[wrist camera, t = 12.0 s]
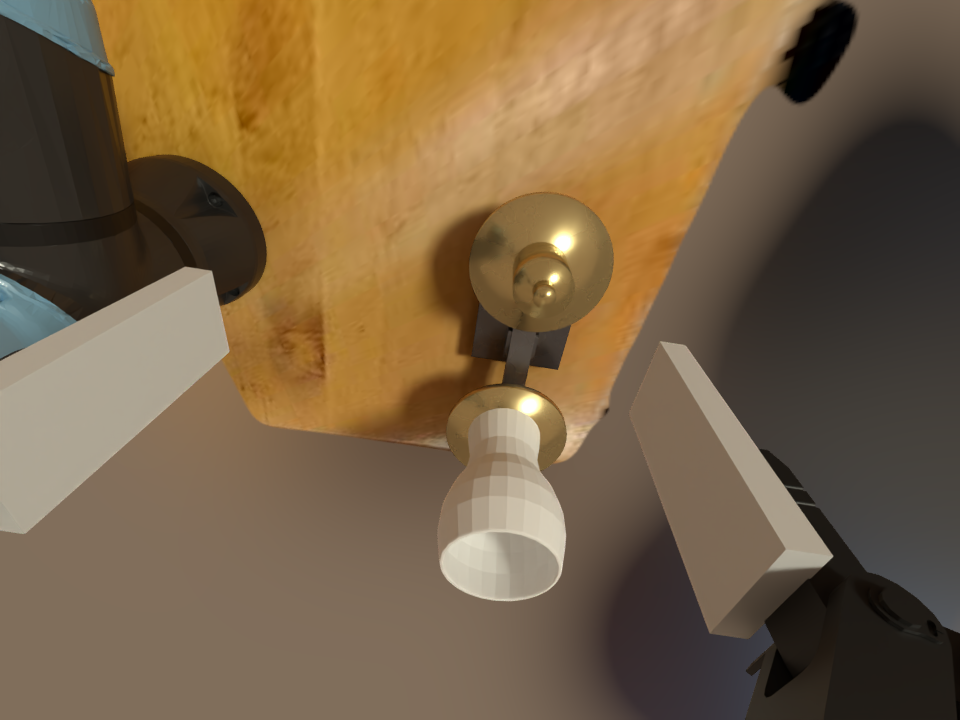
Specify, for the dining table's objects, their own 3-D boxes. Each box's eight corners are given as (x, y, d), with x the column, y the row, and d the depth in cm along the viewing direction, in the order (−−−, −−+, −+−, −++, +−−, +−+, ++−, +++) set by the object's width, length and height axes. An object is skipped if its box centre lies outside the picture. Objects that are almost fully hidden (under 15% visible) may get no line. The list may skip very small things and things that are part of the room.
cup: (466, 474, 48) (449, 607, 36) (444, 402, 43) (415, 529, 30) (558, 465, 47) (575, 603, 34) (547, 390, 41) (562, 519, 28)
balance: (450, 420, 56) (436, 494, 45) (483, 171, 39) (472, 198, 29) (545, 434, 56) (553, 511, 45) (619, 193, 39) (657, 227, 29)
